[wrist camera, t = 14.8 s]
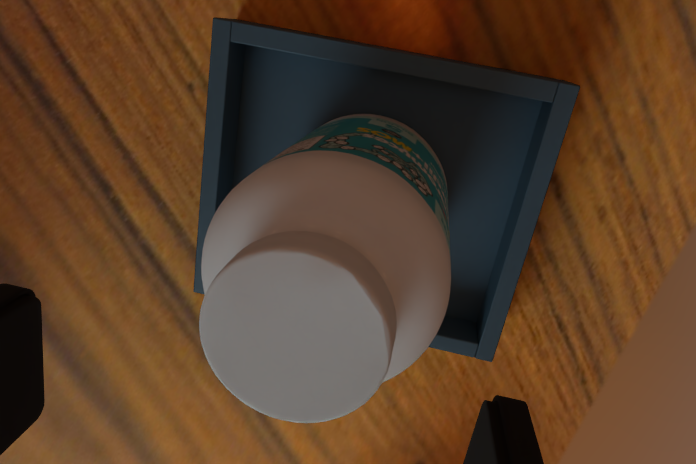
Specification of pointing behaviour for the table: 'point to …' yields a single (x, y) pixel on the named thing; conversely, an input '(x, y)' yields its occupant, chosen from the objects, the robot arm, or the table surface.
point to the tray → (417, 113)
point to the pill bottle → (327, 270)
